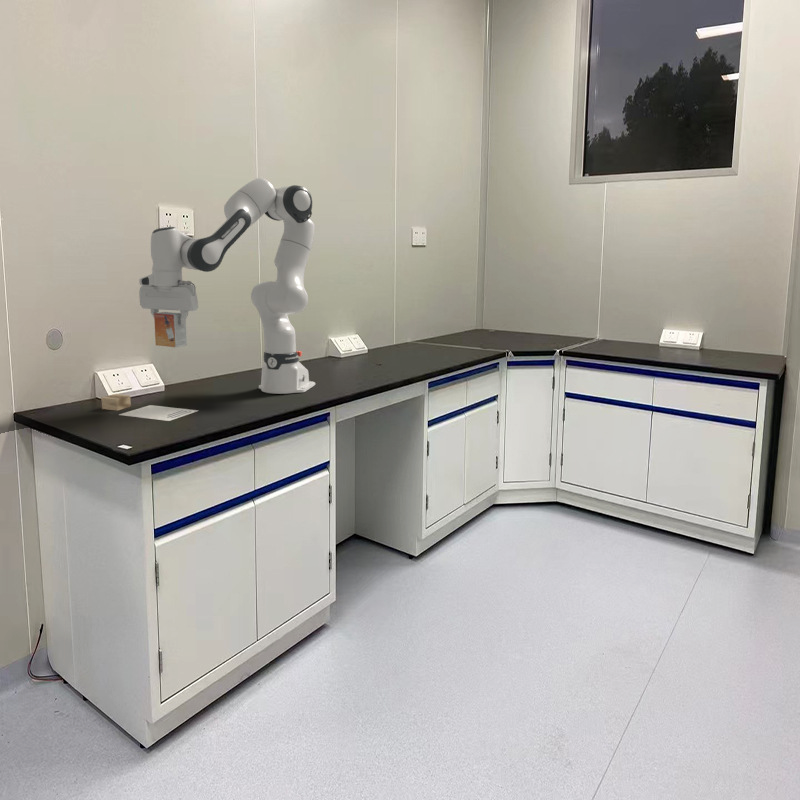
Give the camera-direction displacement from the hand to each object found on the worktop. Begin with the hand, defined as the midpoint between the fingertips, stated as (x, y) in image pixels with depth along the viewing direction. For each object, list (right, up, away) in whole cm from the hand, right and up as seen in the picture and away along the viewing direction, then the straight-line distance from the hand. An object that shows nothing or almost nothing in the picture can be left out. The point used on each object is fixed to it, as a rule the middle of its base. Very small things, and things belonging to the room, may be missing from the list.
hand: (170, 324), depth 209 cm
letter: (-2, -28, -5) cm, 29 cm away
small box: (0, -7, +2) cm, 7 cm away
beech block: (-17, -27, +1) cm, 32 cm away
